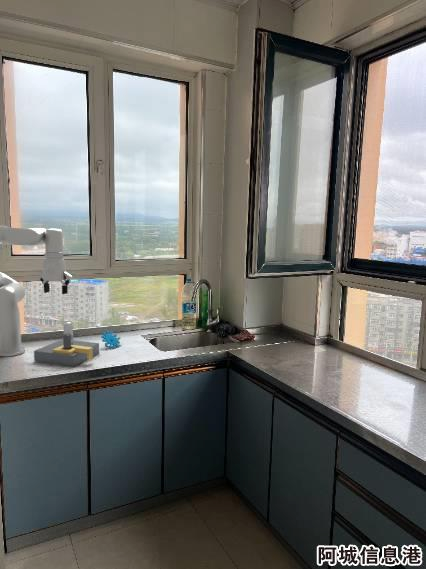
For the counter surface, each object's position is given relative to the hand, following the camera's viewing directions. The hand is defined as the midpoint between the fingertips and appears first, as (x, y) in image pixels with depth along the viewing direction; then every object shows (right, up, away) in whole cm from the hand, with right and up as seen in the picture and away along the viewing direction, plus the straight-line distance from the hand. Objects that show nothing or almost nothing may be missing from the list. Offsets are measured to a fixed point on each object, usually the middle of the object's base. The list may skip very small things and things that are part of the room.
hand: (55, 293), depth 197 cm
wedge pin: (+8, -30, -8) cm, 32 cm away
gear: (+22, -27, +15) cm, 38 cm away
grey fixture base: (+7, -29, -3) cm, 30 cm away
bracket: (+12, -28, -9) cm, 32 cm away
